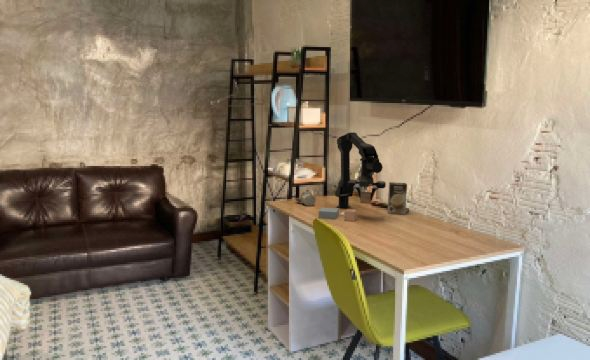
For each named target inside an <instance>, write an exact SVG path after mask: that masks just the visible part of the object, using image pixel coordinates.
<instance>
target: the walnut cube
mask: <svg viewBox="0 0 590 360" xmlns="http://www.w3.org/2000/svg"><path fill="white" fill-rule="evenodd" d="M371 193H372V191H371V192H370V191H362V193H361V197H359V199H360V200H359V202H360V204H366V205H367V204H369V205H370V204H371V203H372V202H373V200H372V201H371Z"/></svg>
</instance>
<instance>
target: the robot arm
mask: <svg viewBox="0 0 590 360" xmlns="http://www.w3.org/2000/svg"><path fill="white" fill-rule="evenodd" d="M336 144H337V149H338V151H339V152H340V180H339V181H338V183H337V188H336V189H335V192H334V196H335V197H337V198H338V205H337V206H336V208H338V209H350V207H351V205H350V203H349V202H350V197H353V195H354V191H355V190H354V189H356V192H357V193H358V197H359V198H360V197H361V193H362V192H363V191H362V190H363V189H362V187H364V188H369V187H372V188H371V192H372V193H371V201H372V202H373V198H374V196H375V194H376V191H377V190H379V189H385V188H386V185H387V184H386V183H387V182H386V181H382V180H377V181H376V182H375V181H374V177H373V173H375V174H379V173H381V172H382V171H383V168H384V167H383V164H382V162H380V159H379V154H378V152H377V150H376V147H375V146H374V145H372V144H371V143H366V142H365V141H364V140H363V139H362V138H361V137H360V136H359V135H358V133H357V132H354V131H353V132H347V133H345V134H344V135H341V136H339V137H338V138H337V139H336ZM353 146H354V147H355V148H356V149H358V155H360V157H361V158H360V159H359V161H361V167H360V168H361V173H360V178H359V180H357V179H351V174H350V172H351V171H350V170H351V167H350V165H351V163H350V162H351V161H350V152H351V151H352V149H353Z"/></svg>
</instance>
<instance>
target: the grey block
mask: <svg viewBox="0 0 590 360" xmlns="http://www.w3.org/2000/svg"><path fill="white" fill-rule="evenodd" d="M339 216H340V208H337V207H336V208H334V207H321V208H320V209H319V210H318V219H324V220H325V219H326V220H327V219H328V220H337V219H338V217H339Z"/></svg>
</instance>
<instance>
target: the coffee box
mask: <svg viewBox="0 0 590 360" xmlns="http://www.w3.org/2000/svg"><path fill="white" fill-rule="evenodd" d="M407 190H408V184H407V183H406V182H389V183H388V195H387V196H388V197H387V198H388V199H387V213H388V214H389V215H392V214H393V215H406V210H407V209H406V208H407Z"/></svg>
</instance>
